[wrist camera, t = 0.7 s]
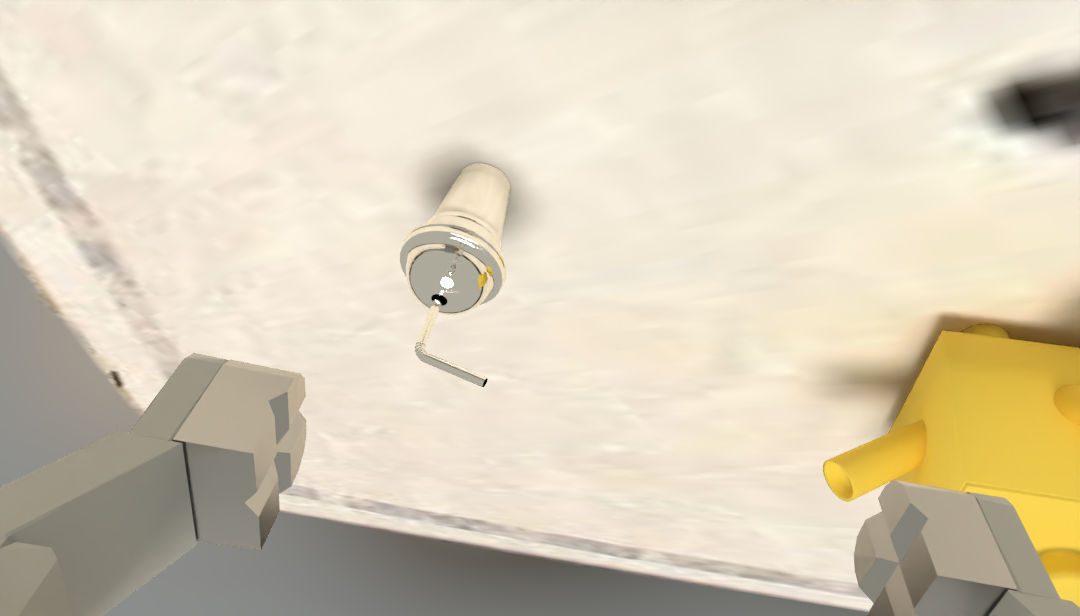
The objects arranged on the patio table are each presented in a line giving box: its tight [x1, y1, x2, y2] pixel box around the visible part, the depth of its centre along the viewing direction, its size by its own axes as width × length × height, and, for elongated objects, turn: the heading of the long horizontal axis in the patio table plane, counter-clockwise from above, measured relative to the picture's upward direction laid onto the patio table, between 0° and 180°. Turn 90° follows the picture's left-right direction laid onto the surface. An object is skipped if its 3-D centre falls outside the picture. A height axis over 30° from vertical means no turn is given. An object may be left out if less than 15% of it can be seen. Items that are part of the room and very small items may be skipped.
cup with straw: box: [400, 163, 510, 387], centre depth 63 cm, size 8×9×20 cm
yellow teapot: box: [823, 324, 1080, 608], centre depth 66 cm, size 35×29×20 cm
